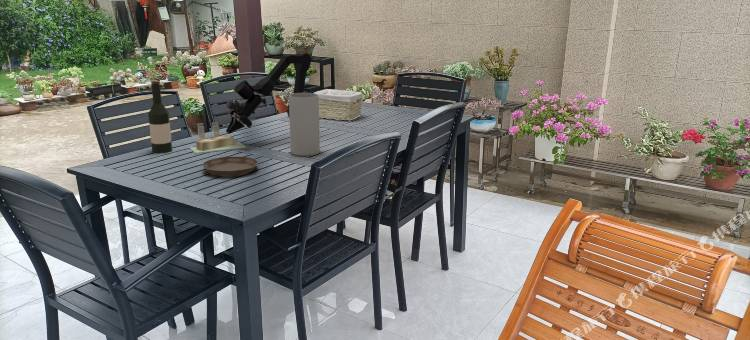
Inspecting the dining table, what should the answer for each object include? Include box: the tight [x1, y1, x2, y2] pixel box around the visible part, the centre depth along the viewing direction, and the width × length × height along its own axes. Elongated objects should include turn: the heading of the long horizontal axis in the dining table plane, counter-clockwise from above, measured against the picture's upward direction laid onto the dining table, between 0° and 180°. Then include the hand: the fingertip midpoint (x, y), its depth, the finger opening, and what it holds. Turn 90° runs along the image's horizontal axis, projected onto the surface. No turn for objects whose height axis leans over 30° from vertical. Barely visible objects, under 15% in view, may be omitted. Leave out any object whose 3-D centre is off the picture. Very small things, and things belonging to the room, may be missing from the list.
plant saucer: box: [202, 155, 259, 178], centre depth 215 cm, size 21×21×3 cm
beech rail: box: [195, 134, 235, 151], centre depth 246 cm, size 16×4×5 cm
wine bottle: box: [147, 80, 173, 154], centre depth 236 cm, size 8×8×30 cm
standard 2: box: [211, 121, 221, 138], centre depth 257 cm, size 2×8×8 cm, turn 20°
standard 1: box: [196, 123, 206, 141], centre depth 255 cm, size 2×8×8 cm, turn 20°
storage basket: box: [313, 88, 364, 121], centre depth 310 cm, size 24×16×15 cm
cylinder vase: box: [288, 92, 321, 157], centre depth 237 cm, size 12×12×25 cm
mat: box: [189, 141, 247, 155], centre depth 246 cm, size 22×10×1 cm, turn 120°
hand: (227, 132), depth 247 cm, fingers open, 2 cm apart
